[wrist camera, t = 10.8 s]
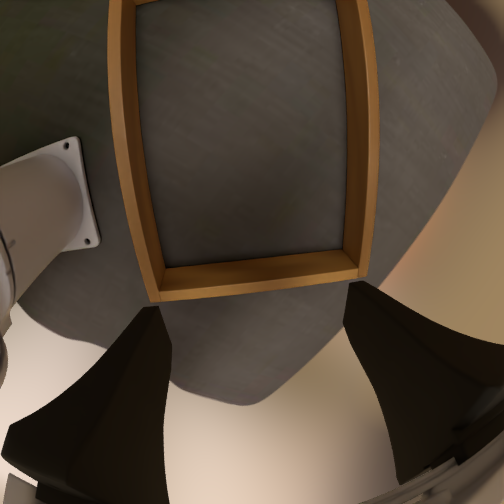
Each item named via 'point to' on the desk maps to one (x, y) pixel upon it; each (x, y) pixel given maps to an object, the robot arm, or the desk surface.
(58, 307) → the desk surface
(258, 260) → the wooden frame
